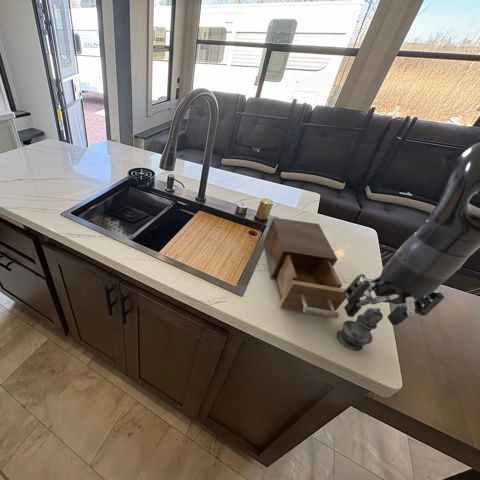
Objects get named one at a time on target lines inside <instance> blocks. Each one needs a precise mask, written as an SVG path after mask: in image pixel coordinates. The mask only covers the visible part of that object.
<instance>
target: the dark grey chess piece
mask: <svg viewBox="0 0 480 480" xmlns="http://www.w3.org/2000/svg"><path fill="white" fill-rule="evenodd" d="M383 317H384V315H383V312H381V308H378V307H376V308H375V307H368V308H366V309H365V311H364V312H363V313H362V314H358V315H357V317H356V320H349V319H348V320H344V321H343V322H342V328H341V329H340V330H338V331H337V333H336V338H337V340H338V341H339V343H340V344H341V345H342V346H343V347H345V348H346V349H348V350H350V351H353V352H359V351H361V350H362V349H363V348H364V346H365V345H369V344H371V343H373V340H374V337H373V335H372V333H371V331H372V330H375V329H377V327H378V325H377V324H378V323H380V322H381V321H382V320H383Z"/></svg>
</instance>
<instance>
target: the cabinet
mask: <svg viewBox="0 0 480 480" xmlns="http://www.w3.org/2000/svg"><path fill="white" fill-rule="evenodd" d="M262 245H263V249H264V252H265V258H266V263H267V267H268V273H269V277H270V279H273V280H277V276H276V272H277V270H278V268H279V266H280V263H281V261H282V259H283V257H284V255H285V253H286V254H292V255H299V256H305V257H311V258H318V259H324V260H330V262H331V264H332V266H333V267H334V266H335V264H336V263H337V262H338V257H337V255H336V254H335V252H334V250H333V248H332V246H331V244H330V242H329V240H328V238H327V237H326V235H325V233H324V231H323V229H322V227H321V225H320V224H319V223H314V222H307V221H299V220H293V219H287V218H285V219H284V218H280V217H273V218H272V220H271V223H270V226H269V228H268V230H267V233H266V235H265V238H264V241H263V244H262Z"/></svg>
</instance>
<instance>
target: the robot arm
mask: <svg viewBox="0 0 480 480" xmlns="http://www.w3.org/2000/svg"><path fill="white" fill-rule="evenodd" d="M475 195H478V196H480V142H477V143H475V144H473V145H472V146H469V147H468V148H467V149H465V150H464V151H463V152H462V153H461V154H460V155H459V156H457V158H456V160H455V162H454V164H453V166H452V168H451V170H450V173H449V176H448V179H447V181H446V184H445V187H444V189H443V192H442V194H441V196H440V197H439V200H438V202H437V204H436V206H435V207H434V209H433V211H432V212H431V213H430V214H429V215H428V216H427V218H426V219H425V220H424V221H423V223H422V224H421V225H420V226H419V227H418V229H417V230H416V231H415V232H414V233H413V234H412V235H410V236H409V237H408V238H407V239H406V240H405V241H404V242H403V243H402V244H401V246H400V247H399V248H398V249H397V250H396V251H395V253H394V254H393V255H392V256H391V258H390V259H389V260H388V261H387V262H386V263H385V265H384V266H383V267H382V269H381V274H380V275H379V276H378V277H376V278H374V279H372V278H368V277H366V275H365V274H362V273H361V274H359V275H357V276H356V277H355V278H354V280H353V281H352V282H351V283H350V284H349V285H348V286H347V287H346V288H345V289H346V290H345V291H344V294H345V296H346V302H347V303H346V304H345V305H344V311H345V313H346V315H347V317H348V318H349V317H350V318H354V317H355V315H357V313H358V312H359V311H361V309H362V308H363V307H364V306H367V305H374V306H375V305H377V304H379V303H389V304H393V305H397V306H396V307H395V308H394V309H393V310H392V311H391V312H390V313H389V314H388V315H387V319H388V321H389V323H390V324H391V325H393V326H398V325H399V324H402V323H403V322H404V321H405V320H407V318H409V317H412V316H415V315H417V314H418V315H419V316H422V317H423V316H427V315H428V314H429V313H430V312H432V311H433V309H435V308H436V306H438V305H439V304H440V303H441V302H442V301H443V300H444V299H445V296H444V295H443V293H442V292H441V291H440V289H439V287H441V286H442V285H443V284H444V283H445V282H446V281H447V280H448V279H450V278H451V277H452V276H453V275H454V274H455V273H457V271H458V270H460V269H461V267H462V266H463V265H464V264H465V262H466V261H467V259H469V258H470V257H471V256H472V255H473V254H474V253H475V252H476V251H477V250H479V248H480V207H477V206H475V205H473V204H471V203H470V200H471V199H472V197H473V196H475ZM372 292H373V293H374V295H375V297H373V296H372V294H371V293H372ZM364 297H365V298H364ZM362 298H363V299H362Z"/></svg>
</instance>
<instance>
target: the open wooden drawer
mask: <svg viewBox="0 0 480 480" xmlns="http://www.w3.org/2000/svg"><path fill="white" fill-rule="evenodd" d="M276 276H277V279H276V280H277V284H278V287H279V292H280V297H281V299H280V302H279V307H280V308H284V309H289V310H290V309H291V310H295V311H301V312H302V313H305V314H311V315H315V316H320V317H321V316H322V317H327V318H332V319H338V318H339V316H340V314H339V312H338V309H339V308H340V307H341V306H342V305H343V303H344V302H345V300H347V298H346V296H345V294H344V291H345V290H346V289H347V288H342V286H343V283H342V281H341V280H340V278H339V276H338V273H337V272H336V270H335V268H334V266H332V264H331V262H330V260H324V259H318V258H311V257H305V256H299V255H292V254H286V253H285V255H284V257H283V259H282V261H281V263H280V266H279V268H278V270H277V272H276Z"/></svg>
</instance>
